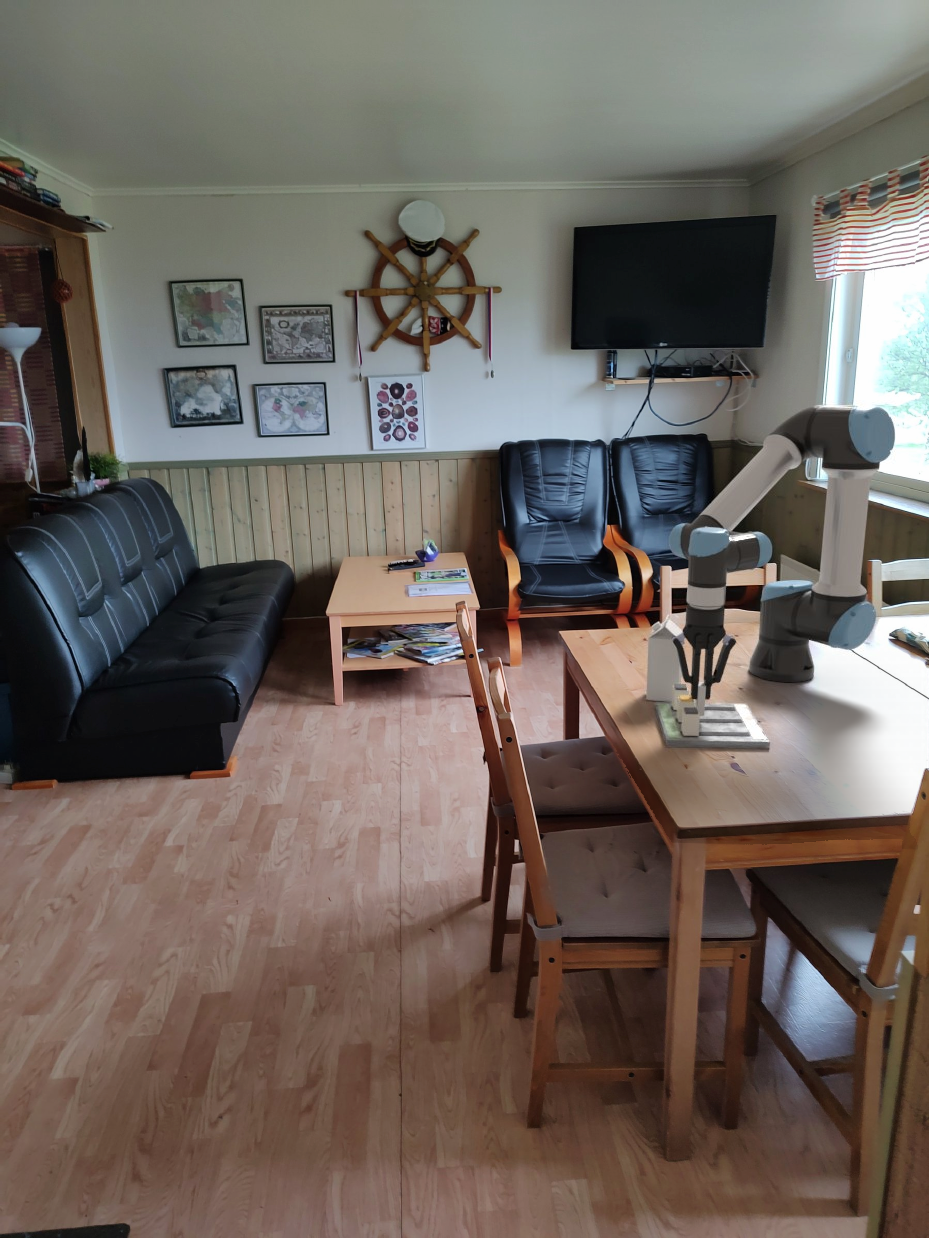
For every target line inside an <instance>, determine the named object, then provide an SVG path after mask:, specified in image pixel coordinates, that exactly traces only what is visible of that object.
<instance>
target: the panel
mask: <svg viewBox="0 0 929 1238" xmlns="http://www.w3.org/2000/svg"><path fill="white" fill-rule="evenodd" d="M694 708H695V702H694ZM654 712H655V715H656V717H657V721H658V725H659V727H660V730H661V734H662V736H663V739H664V743H665V746H666V748H694V749H695V748H699V749H700V748H703V749H705V748H706V749H710V748H711V749H748V750H749V749H752V750H753V749H756V750H759V749H761V750H765V749H766V750H770V748H771V747H770V745H771V741H770V740H769V738H768V736H767V735H766V733H765V731H764V729H763V727H762V726H761V725H760V723H759V721H758V720H757V718H756V717H755V715H754V714H753V712H752V710H751V709H750V706H748V703H747V702H746V703H745V702H741V703H739V702H734V703H733V702H730V703H729V702H705V712H704V716H700V720H699V736H683V733H682V730H681V724H682V722H678V719H677V710H674V709H673V707H672V702H664V701H654Z"/></svg>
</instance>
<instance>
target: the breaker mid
mask: <svg viewBox="0 0 929 1238" xmlns="http://www.w3.org/2000/svg"><path fill="white" fill-rule="evenodd" d="M694 700H695V699H692V697H691V694H690V695H679V697H677V719H678V722H682V709H684V707H689V708H694V703H695V701H694Z"/></svg>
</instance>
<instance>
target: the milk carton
mask: <svg viewBox="0 0 929 1238" xmlns="http://www.w3.org/2000/svg"><path fill="white" fill-rule="evenodd" d="M651 629H652V630H651V633H650V634H649V636H648V644H647V645H648V646H647V666H646V667H647V668H646V669H647V670H646V671H647V672H646V696H645V697H646V701H652V702H653V701H654V702H672V688H673V686H674V684H682V672H681V667H680V662H679V657H678V653H677V648H676V646H675V645H674V643H673V641H672V636H678V635H679V634H681V633H683V629H681V628H680V627H679V626H678V625H676V623H674V621H672V620H671V619H670V614H669V613H668V614H667V615H666V618H665V620H664V621H662V622H660V621H657V622H655V623H654V624H653V625H651ZM682 646H683V647H684V645H682Z"/></svg>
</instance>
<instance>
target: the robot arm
mask: <svg viewBox="0 0 929 1238" xmlns="http://www.w3.org/2000/svg"><path fill="white" fill-rule="evenodd" d="M894 424H895V423H894V421H893V420H892V417H891V416H890V415H889V413H888V411H886V410H885V409H884V408H882V407H880V406H875V405H866V404H862V403H861V404H848V405H847V404H841V405H840V404H838V405H837V404H829V405H828V404H816V405H812V406H809V407H806V408H804V409H802V410H800V411H797V412H796V413H794V414H793V415H792V416H790V417H789V418H787V419H786V420H784V421H783V422H782V423H780V424H779V425H778V426H776V428H774V430H772V432H770V433H769V435H768V436H767V437H765V439H764V440H763V444H762V445H763V446H762V448H761V449H760V450H759V452H757V454H756V455H755V456H754V457H753V458H752V459H751V460H750V461H749V462H748V463H747V464H746V466H744V467H743V468H742V469H741V470H740V472H739V473H738V474H737V475H736V476H735V477H734V478H733V479H732V480H731V481H730V482H729V483H728V484H727V485H726V486H725V488H724V489H723V490H722V491H721V492H720V493H719V494H718V495H717V496H716V497H715V498H714V499H713V500H711V503H709V504H708V505H707V507H706V508H705V509H704V510H703V511H701V513H700V514H699V515H698V516H697V517H696V518H695V519H694V520H693V522H691V523H688V522H686V523H685V522H684V523H680V524H677V525H675V526H674V527H673V528H672V530H671V532H670V534H669V537H668V546H669V549H670V551H671V553H672V554H673V555H675V556H677V557H679V558H682V559H685V560H688V563H687V564H688V569H687V570H688V571H687V588H686V589H687V592H686V603H687V605H686V607H685V608H686V610H685V623H684V624H685V625H684V627H683V628H682V631H683V633H681V634H679V635H678V636H672V641H673V643H674V645H675V646H676V648H677V653H678V657H679V662H680V667H681V672H682V674H681V677H682V678H683V681H684V682H685V683H686V684H687V683H688V684H690V695H691V697H692V699H693V700H695V701H694V703H695V708H697V710H698V712H699V714H700V716H704V712H705V703H706V701H707V700H710V699H711V691H712V690H711V689H712V686H713V685H714V684H719V683H720V682H721V681H722V679H723V675H724V672H725V668H726V666H727V662H728V659H729V656H730V653H731V651H732V649H733V648H734V646H735V645H736V644H737V640H736V639H735V638H734V636H732V635H729V634H728V633H727V632H726V629H725V626H724V625H725V623H724V622H725V609H726V608H725V607H724V605H725V604H726V592H727V591H726V590H727V589H726V588H727V577H728V576H727V575H728V574H730V573H735V572H740V571H748V570H751V571H752V570H755V569H758V568H761V567H763V566H765V565H767V564H768V562H769V561H770V560H771V558H772V554H773V545H772V541H771V540H770V538H769V537H768V536H767V535H766V534H764V532H760V531H748V532H737V531H733V530H734V529H735V528H736V527H738V525H739V524H740V522H742V520H743V519H744V518H745V517H746V516H747V515H748V514H749V513H750V512H751V511H752V510H753V508H754V507H755V506H756V505H757V504H758V503H759V502H760V501H761V500H762V499H763V498H764V497H765V496H766V495H767V494H768V493H769V491H770V490H772V488H773V487H774V486H775V485H776V484H777V483H778V482H779V481H780V480H781V478H782V477H784V475H785V474H787V472H788V471H789V470H793V469H797V468H798V467H799V466H800V465H801V464H802V463H803V462H804V461H806V460H809V459H813V458H817V459H821V469H822V470H823V472H824V473H825V474H826V475H827V487H826V499H825V508H824V509H825V510H824V511H825V512H824V520H823V521H824V523H823V533H822V534H823V535H822V545H821V546H822V547H821V555H820V556H821V557H820V567H819V568H820V569H819V578H818V581H817V582H816V583H815V584H814V582H812V581H809V580H803V579H802V580H800V579H799V580H798V579H797V580H796V579H795V580H794V579H792V580H779V581H778V580H777V581H773V582H770V583H769V582H768V583H766V584H765V585H764V586H763V588H762V591H761V593H762V594H761V598H760V614H759V615H760V616H759V628H758V629H759V631H758V640H757V643H756V646H755V649H754V651H753V653H752V655H751V656H750V659H749V668H748V670H749V673H750V674H752V675H753V676H755V677H758V678H760V679H763V680H767V681H772V682H781V683H798V682H806V681H809V680H811V679H813V677H814V674H815V664H814V661H813V657H812V656H813V655H812V653H811V648H810V641H812V642H815V643H818V644H823V645H825V646H829V647H831V648H834V649H842V650H847V651H851V650H854V649H856V648H858V647H860V646H861V645H863V643H865V642H866V640H867V639H868V638H869V637H870V636H871V634H872V632H873V629H874V627H875V624H876V621H877V620H876V619H877V611H876V608H875V606H874V605H873V603H871V602H870V601H867V593H868V591H867V589H866V588H865V586H863V585H862V583H861V576H862V567H863V558H864V557H863V556H864V549H865V548H864V547H865V538H866V527H867V518H868V508H869V499H870V498H869V497H870V489H871V479H872V476H873V475H874V474H875V473H876V472H878V471H879V470H880V465H881V462H884V461H885V460H887V458H889V456H890V455H891V452H892V450H893V448H894V446H895V441H896V431H895V425H894ZM685 640H686V641H687V642H688V643H689V645H690V646H691V649H692V656H691V674H690V671H689V668H688V663H687V657H686V653H685V649H684V645H685ZM721 641H722V646H721V649H720V651H719V655H718V658H717V661H716V664H715V668H714V666H713V665H714V655H715V648H716V647H717V646H718V645H719V643H720V642H721ZM682 645H683V646H682ZM702 650H704V665H703V667H704V668H703V669H704V670H703V681H700V671H701V655H702ZM713 669H714V671H713Z"/></svg>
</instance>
